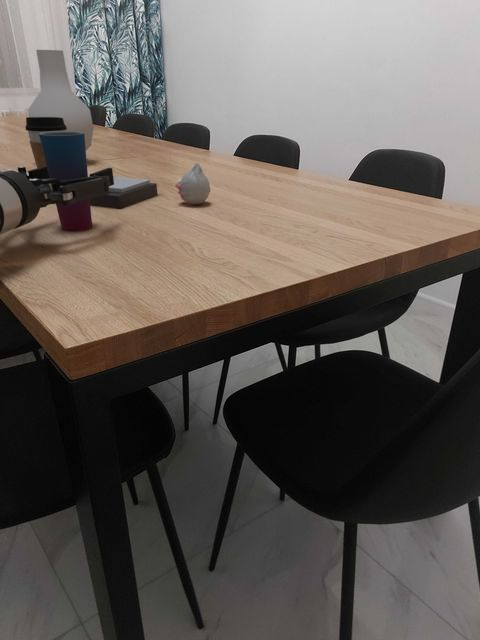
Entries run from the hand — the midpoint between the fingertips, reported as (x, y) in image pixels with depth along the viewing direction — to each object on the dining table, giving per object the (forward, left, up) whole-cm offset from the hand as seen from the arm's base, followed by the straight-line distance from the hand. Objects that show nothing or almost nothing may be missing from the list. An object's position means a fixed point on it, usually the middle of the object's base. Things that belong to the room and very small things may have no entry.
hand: (82, 174), depth 87 cm
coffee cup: (-24, +20, -8) cm, 32 cm away
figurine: (+11, +20, -8) cm, 24 cm away
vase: (-45, +49, -8) cm, 67 cm away
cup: (+1, -4, -8) cm, 9 cm away
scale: (-7, +17, -8) cm, 20 cm away
